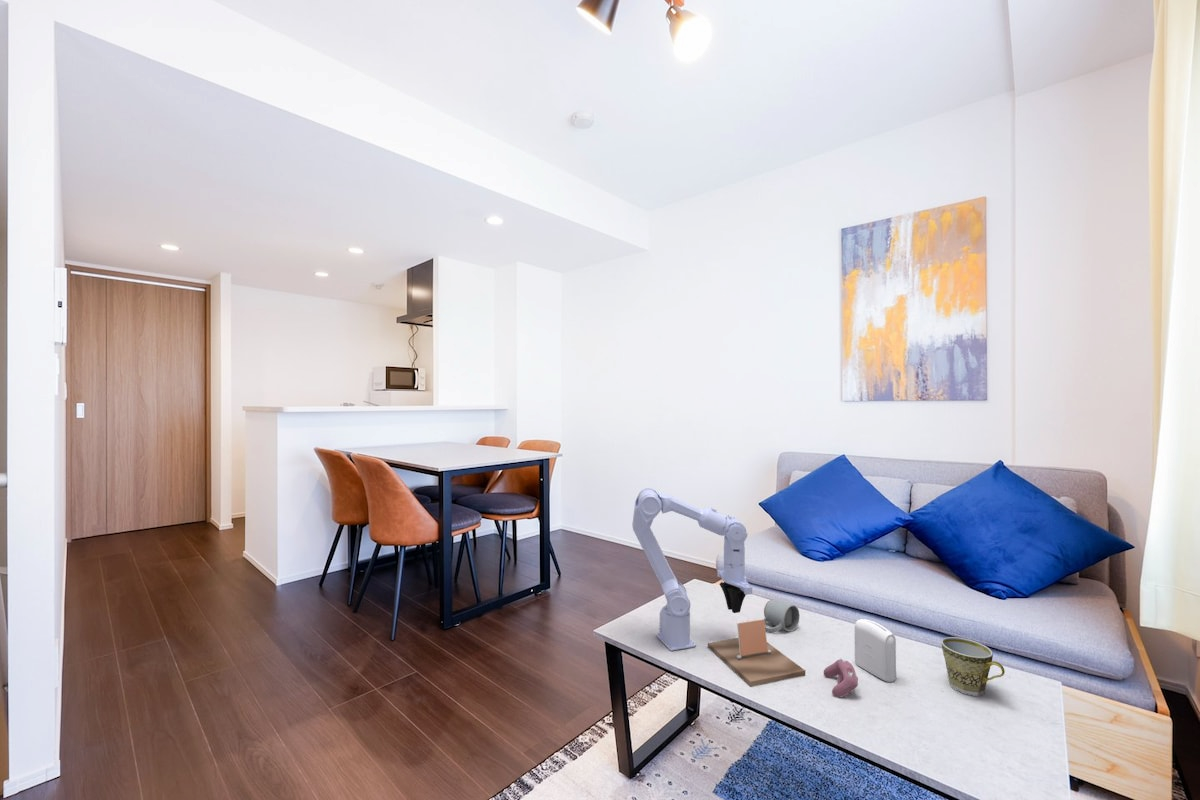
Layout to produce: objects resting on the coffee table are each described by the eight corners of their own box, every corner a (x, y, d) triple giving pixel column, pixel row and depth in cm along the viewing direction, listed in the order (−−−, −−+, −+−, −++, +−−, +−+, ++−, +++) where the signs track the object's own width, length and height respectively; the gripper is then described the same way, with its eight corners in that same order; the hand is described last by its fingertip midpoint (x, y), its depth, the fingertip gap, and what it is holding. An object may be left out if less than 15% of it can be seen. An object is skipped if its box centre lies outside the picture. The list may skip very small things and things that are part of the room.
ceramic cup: (931, 682, 123) (931, 641, 123) (957, 673, 127) (957, 633, 127) (990, 712, 111) (990, 667, 111) (1017, 701, 115) (1017, 658, 115)
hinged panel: (733, 623, 133) (735, 624, 133) (766, 618, 136) (768, 619, 136) (736, 658, 132) (738, 659, 131) (769, 652, 135) (771, 653, 134)
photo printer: (851, 663, 132) (851, 616, 132) (864, 660, 134) (864, 613, 133) (886, 684, 122) (886, 633, 122) (899, 680, 124) (899, 630, 124)
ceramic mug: (777, 618, 159) (777, 594, 159) (800, 628, 152) (800, 602, 152) (755, 627, 153) (754, 602, 153) (778, 638, 146) (777, 611, 146)
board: (707, 647, 140) (707, 642, 140) (756, 638, 145) (756, 634, 145) (750, 686, 121) (750, 681, 121) (805, 675, 126) (805, 670, 126)
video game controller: (850, 706, 116) (864, 680, 116) (831, 695, 117) (845, 670, 116) (838, 682, 126) (852, 658, 125) (821, 672, 127) (834, 649, 126)
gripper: (761, 569, 136) (761, 619, 137) (732, 553, 150) (731, 598, 150) (739, 572, 134) (739, 623, 134) (711, 555, 148) (711, 601, 148)
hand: (733, 610), depth 142 cm, fingers closed
